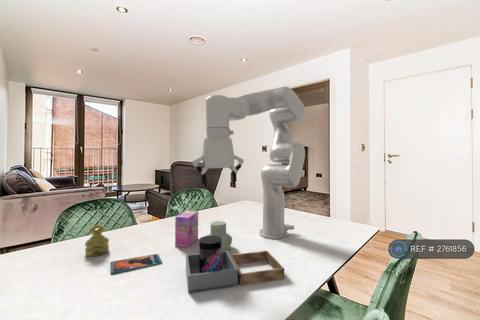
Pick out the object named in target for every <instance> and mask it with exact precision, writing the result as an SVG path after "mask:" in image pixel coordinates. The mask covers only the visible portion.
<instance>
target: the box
mask: <svg viewBox="0 0 480 320" xmlns="http://www.w3.org/2000/svg"><path fill="white" fill-rule="evenodd" d="M174 221H175V225H174V228H175V230H174V232H175V233H174V246H175V247H178V248H185V249H186V248H189V247H190V246H191V245H193V244H194V243H195V241H197V240H199V211H196V210H185V211H184V212H181V213H180V214H178V215H176V216H175V220H174Z"/></svg>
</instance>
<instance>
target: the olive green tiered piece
mask: <svg viewBox="0 0 480 320" xmlns="http://www.w3.org/2000/svg"><path fill="white" fill-rule="evenodd" d="M105 230H106V226H103V225H101V224H96V225H94V226H91V227H90V228H89V229H88V231H89V232H90V233H92V236H91V237H90V238H89V239H87V240H86V242H84V246H85V248H84V252H85V253H84V254H85V256H87V257H91V258H92V257H99V256H103V255H105V254H107V253H108V252H109V250H110V247H109V246H110V244H109V242H110V239H109V237H107V236H105V235H104V234H102V232H103V231H105Z"/></svg>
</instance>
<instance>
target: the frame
mask: <svg viewBox="0 0 480 320" xmlns="http://www.w3.org/2000/svg"><path fill="white" fill-rule="evenodd" d="M229 255H230V257H231V258H232V260H233V262H234V264H235V266H236V268H237V269H238V283H239V284H238V285H239V286H246V285H253V284H260V283H265V282H273V281H279V280H285V267H283V266H282V264H280V262H278V260H277V259H276V258H275V257H274V256H273V255H272V254H271V253H270V252H269V251H268V250H262V251H251V252H244V253H243V252H242V253H235V254H234V253H233V254H229ZM262 261H263V262H264V261H266V262H267V263H268V264H269V266H270V267H271V269H264V270H257V271H248V272H242V271H241V269H240V268H239V266H238V264H247V263H255V262H256V263H257V262H262Z"/></svg>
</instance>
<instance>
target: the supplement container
mask: <svg viewBox="0 0 480 320" xmlns="http://www.w3.org/2000/svg"><path fill="white" fill-rule="evenodd" d="M198 254H199V273H206V272H214V271H222V238H221V237H219V236H214V235H210V236H207V235H204V236H202V237H200V238H198Z"/></svg>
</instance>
